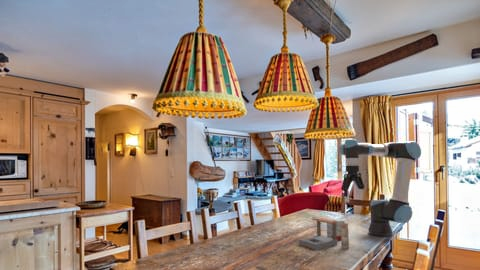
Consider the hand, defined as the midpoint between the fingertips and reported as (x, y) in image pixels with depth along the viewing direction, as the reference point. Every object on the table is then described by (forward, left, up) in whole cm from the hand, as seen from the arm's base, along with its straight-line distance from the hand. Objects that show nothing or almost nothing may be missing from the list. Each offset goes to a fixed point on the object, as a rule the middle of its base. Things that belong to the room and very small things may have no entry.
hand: (353, 201), depth 182 cm
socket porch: (+16, -15, -26) cm, 34 cm away
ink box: (-5, -18, -26) cm, 32 cm away
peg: (+9, -1, -26) cm, 28 cm away
